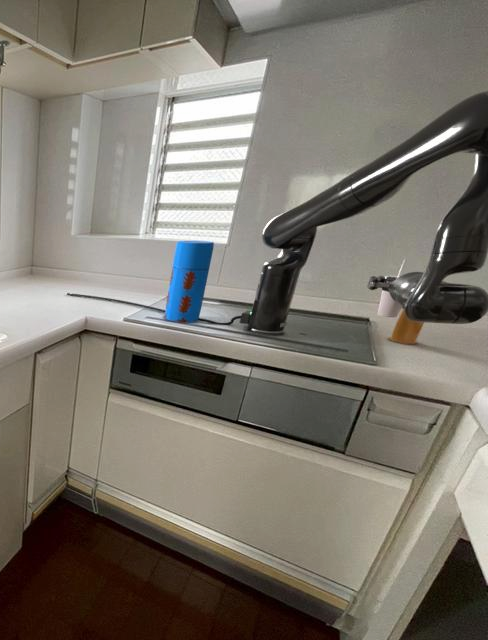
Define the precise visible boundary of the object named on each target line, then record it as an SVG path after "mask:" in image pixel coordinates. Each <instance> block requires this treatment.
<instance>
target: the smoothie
mask: <svg viewBox="0 0 488 640" xmlns="http://www.w3.org/2000/svg"><path fill="white" fill-rule="evenodd" d="M407 261H408V259H407V258H405V259H403V261H402V264H401V266H400V269H399V271H398V274H397V275H385V276H384V277H400V276H402V275H403V271H404V269H405V266H406V264H407ZM384 283H385V282H384ZM381 290H382V289H381ZM379 300H380V301H379V305H378V308H377V309H378V310H377V316H380V317H385V318H397V317H398V316H399V315H400V313H401V310H402V307H403V306H402V305H400V304H399V303H397V302H396V301H394V300H393V299H392V298H391V296H390V293H389V292H388V291H383V290H382V291H381V295H380V299H379Z"/></svg>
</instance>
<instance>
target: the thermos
mask: <svg viewBox="0 0 488 640" xmlns="http://www.w3.org/2000/svg"><path fill="white" fill-rule="evenodd" d="M214 247H215V242H214V241H209V240H208V241H207V240H178V241H177V243H176V245H175V251H174V257H173V261H172V262H173V263H172V269H171V273H170V274H171V275H170V280H169V286H168V292H167V297H166V304H165V310H166V311H165V312H164V318H165V319H166V320H168V321H171V322H176V323H177V322H178V323H185V324H186V323H197V322H198V318H200V314H201V310H202V308H203V307H202V306H203V302H204V296H205V292H206V287H207V282H208V278H209V272H210V268H211V267H210V266H211V262H212V257H213V252H214Z"/></svg>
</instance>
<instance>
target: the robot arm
mask: <svg viewBox="0 0 488 640" xmlns="http://www.w3.org/2000/svg"><path fill="white" fill-rule="evenodd" d="M459 153H464V154H474V163H473V170H472V174H471V177H470V179H469V181H468V182H467V183H468V184H467V185H466V186H465V188H464V190H463V192H462V193H461V194H460V196H459V197H458V198H457V199H456V201H455V202H454V203H453V204H452V205H451V207H450V208H449V209H448V211H447V212H446V213H445V215H444V216H443V218H441V221H440V223H439V225H438V227H437V229H436V232H435V234H434V239H433V242H432V247H431V250H430V255H429V258H428V263H427V265H426V267H425V269H424V271H423V272H422V271H412V272H406V273H404V274H401V276H400V277H385V276H384V275H378V276H374V275H372V276H370V278H369V280H368V283H367V286H366V287H367V289H368V290H370V291H374V290H378V289H381V290H383V291H388V292H389V293H390V296H391V298H392V299H393V300H394V301H396V302H397V303H399V304H400V305H402V306H404V307H405V313H406V315H407V317H408V318H409V319H410V320H412V321H414V322H423V323H424V324H447V325H468V324H473V323H475V322H477V321H480V320H481V319H482V318H484V317H485V316H486V315H487V314H488V291H487V290H485V289H484V288H482V287H481V286H477V285H473V284H465V283H464V284H463V283H453V282H447V281H444V279H446V278H447V277H450V276H453V275H458V274H460V275H461V274H468V273H474V272H476V271H479V270H481V269H482V268H483V267H484V266H485V264H486V260H487V258H488V90H484V91H481V92H478V93H475V94H473V95H470V96H469V97H466V98H464V99H462V100H461V101H459V102H458V103H456V104H454V105H453V106H451V108H449V109H448V110H446V111H445V112H443V113H442V114H441V115H439V116H438V117H436V118H435V119H433V120H431V122H429V123H428V124H426V126H424V127H423V128H421V129H420V130H419V131H417V132H416V133H414V134H413V135H411V136H410V137H408V138H407V139H406V140H404V141H403V142H401V143H399V144H398V145H396V146H394V147H393V148H392V149H390V150H388V151H387V152H385V153H384V154H382V155H380V156H379V157H377V158H376V159H374V160H373V161H371V162H369V163H367V164H365V165H364V166H361V167H360V168H358V169H357V170H355V171H354V172H351V173H350V174H348V175H347V176H345V177H344V178H342V179H340V180H339V181H338V182H336V183H335V184H333V185H331V186H330V187H328V188H326V189H325V190H323V191H321V192H320V193H318V194H316V195H314V196H313V197H312V198H310V199H308V200H307V201H305V202H303V203H301V204H299V205H297V206H295V207H293V208H290V209H289V210H287V211H285V212H282V213H280V214H279V215H277V216H275V217H273V218H272V219H271V220H270V221H269V222H268V223H267V224H266V226H265V227H264V229H263V231H262V235H261V240H262V243H263V244H264V245H265V247H267V248H268V249H272V250H279V251H280V250H281V251H280V253H279V254H278V255H277V256H276V257H274V258H273V259H270V260H268V261H265V262H264V263H263V265H262V266H261V272H260V275H259V280H258V283H257V288H256V292H255V296H254V298H253V302H252V307H251V309H250V310H245V311H243V312H241V315H237V316H234V317H232V318H231V319H230V321H227V322H218V321H214V320H211V319H207V318H200V317H199V318H198V321H199V322H205V323H209V324H212V325H225V326H230V325H232V324H234V322H235V321H236V320H239V324H244V325H246V331H248V332H253V333H257V334H262V335H272V336H278V335H282V334H284V331H285V327H287V324H288V322H287V320H288V316H289V313H290V309H291V305H292V302H293V298H294V295H295V292H296V288H297V285H298V281H299V278H300V274H301V271H302V270H303V268H304V267H305V265H307V264H306V263H307V262H308V260H309V256H310V253H311V250H312V248H313V245H314V242H315V239H316V237H317V232H318V227H322V226H325V225H329V224H333V223H337V222H341V221H344V220H347V219H350V218H353V217H356V216H359V215H362V214H363V213H366V212H368V211H370V210H372V209H374V208H376V207H378V206H380V205H382V204H384V203H386V202H387V201H389V200H390V199H392V198H393V197H394V196H396V195H397V194H398V193H399V192H400V191H401V190H402V189H403V187H404V186H405V185H406V183H407V182H408V181H409V180H410V178H411V177H412V176H413V175H415V174H416V173H418V172H419V171H420V170H422V169H424V168H426V167H428V166H430V165H432V164H434V163H436V162H438V161H441V160H442V159H444V158H447V157H449V156H451V155H454V154H459ZM384 282H385V283H384ZM70 293H71V292H67V293H66V295H67V296H72V297H82V298H90V299H96V300H104V301H109V302H110V301H111V302H116V303H121V304H126V305H131V306H136V307H140V308H143V309H144V308H145V309H149V310H153V311H157V312H161V313H165V311H166V309H162V308H158V307H154V306H150V305H146V304H141V303H136V302H131V301H127V300H121V299H115V298H110V297H109V298H108V297H104V296H103V297H102V296H96V295H88V294H79V293H72V294H70ZM198 321H197V322H198Z"/></svg>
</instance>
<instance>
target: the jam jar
mask: <svg viewBox="0 0 488 640" xmlns="http://www.w3.org/2000/svg"><path fill="white" fill-rule="evenodd" d="M424 324H425V323H423V322H414V321H412V320H410V319H409V318H408V317H407V315H406V313H405V309H403V308H402V309H401V310H400V312H399V314H398V318H397V321H396V323H395V325H394V328H393V331H392V333H391V335H390V338H389V340H390V341H392V342H395V343H398V344H403V345H404V344H405V345H414V344H416V343H417V341H418V339H419V336H420V333H421V331H422V330H423V327H424Z"/></svg>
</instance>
